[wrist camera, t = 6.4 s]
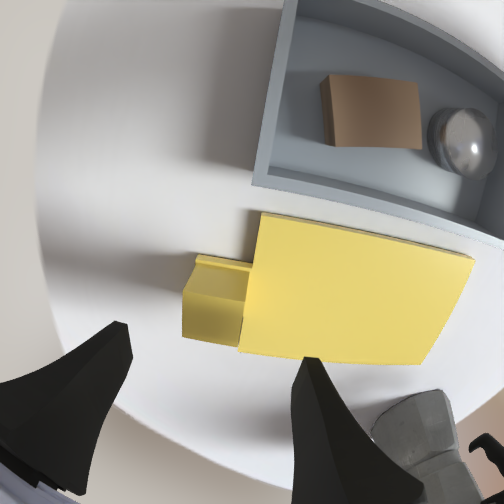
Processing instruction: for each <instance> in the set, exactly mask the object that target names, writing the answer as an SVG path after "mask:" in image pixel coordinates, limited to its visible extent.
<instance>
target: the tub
mask: <svg viewBox="0 0 504 504" xmlns="http://www.w3.org/2000/svg"><path fill="white" fill-rule="evenodd" d="M328 75H353V76H367V77H378V78H387V79H395V80H403V81H409V82H416V83H418V92H419V102H420V114H421V131H422V150H421V149H406V148H384V147H333V146H329V145H325V137H324V124H323V113H322V102H321V93H320V83H321V82H322V81H323V80H324V79H325V78H326V77H327V76H328ZM443 108H475V109H478V110H480V111H481V112H483V113H484V114H485V115H486V116H487V118H488V119H489V120H490V122H491V124H492V125H493V128H494V130H495V133H496V137H497V144H498V152H497V159H496V162H495V165H494V167H493V169H492V171H491V172H490V174H489V175H488V176H487V177H485V178H484V179H481V180H471V179H468V178H466V177H463V176H460V175H457V174H454V173H451V172H448V171H445V170H444V169H442V168H441V167H439V166H438V165H437V163H436V162H435V161H434V159H433V158H432V156H431V154H430V151H429V148H428V143H427V128H428V124H429V121H430V119H431V117H432V116H433V115H434V114H435V112H437V111H438V110H440V109H443ZM251 185H252V186H258V187H264V188H269V189H275V190H280V191H286V192H291V193H296V194H301V195H306V196H311V197H316V198H320V199H325V200H330V201H334V202H339V203H343V204H347V205H352V206H356V207H360V208H364V209H368V210H372V211H376V212H380V213H384V214H388V215H392V216H396V217H399V218H403V219H407V220H410V221H414V222H418V223H421V224H425V225H428V226H431V227H435V228H438V229H441V230H445V231H448V232H451V233H454V234H457V235H460V236H464V237H467V238H470V239H473V240H476V241H479V242H482V243H484V244H487V245H490V246H493V247H496V248H498V249H501V250H504V72H502V71H501V70H500V69H499V68H497V67H496V66H495V65H494V64H492V63H491V62H490V61H488V60H487V59H486V58H484V57H483V56H481V55H480V54H479V53H477V52H476V51H474V50H473V49H471V48H470V47H468V46H467V45H465V44H464V43H462V42H461V41H459V40H458V39H456V38H454V37H453V36H451V35H449V34H448V33H446V32H444V31H443V30H441V29H439V28H437V27H435V26H433V25H432V24H430V23H428V22H426V21H424V20H422V19H420V18H418V17H416V16H414V15H412V14H409V13H407V12H405V11H403V10H401V9H398V8H396V7H394V6H391V5H389V4H386V3H384V2H381V1H378V0H284V5H283V10H282V15H281V21H280V26H279V31H278V37H277V42H276V47H275V53H274V58H273V64H272V69H271V75H270V80H269V86H268V92H267V97H266V103H265V108H264V114H263V120H262V126H261V131H260V137H259V143H258V149H257V155H256V161H255V166H254V172H253V178H252V184H251Z"/></svg>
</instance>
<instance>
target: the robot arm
mask: <svg viewBox="0 0 504 504" xmlns="http://www.w3.org/2000/svg"><path fill="white" fill-rule="evenodd" d="M132 360H133V354H132V349H131V343H130V338H129V331H128V325H127V324H125V323H121V322H118V321H114V322H112V323H111V324H109V325H108V326H106V327H105V328H104V329H102V330H101V331H99V332H98V333H97V334H95V335H94V336H93V337H91V338H90V339H88V340H87V341H85V342H84V343H83V344H81V345H80V346H78V347H77V348H75V349H74V350H72V351H71V352H69V353H67V354H66V355H64V356H63V357H61V358H60V359H58V360H56V361H54V362H53V363H51V364H49V365H47V366H45V367H43V368H41V369H39V370H37V371H34V372H32V373H29V374H27V375H24V376H22V377H19V378H16V379H13V380H10V381H6V382H3V383H0V504H79V503H78V502H76V501H74V500H72V499H70V498H68V497H66V496H64V495H63V494H61V493H59V492H57V488H59V489H60V490H62V491H64V492H65V491H66V490H68V491H70V492H72V493H74V494H76V495H78V496H81V495H84V494H86V488H87V481H88V475H89V470H90V466H91V461H92V457H93V453H94V449H95V446H96V443H97V439H98V436H99V433H100V430H101V427H102V425H103V422H104V420H105V418H106V415H107V413H108V411H109V409H110V407H111V406H112V404H113V402H114V400H115V398H116V396H117V394H118V392H119V390H120V388H121V386H122V384H123V382H124V380H125V378H126V376H127V373H128V371H129V368H130V365H131V362H132ZM291 419H292V432H293V444H294V479H293V491H292V502H291V504H427V503H428V499H427V494H426V490H425V486H424V483H423V482H421V481H420V480H418V479H417V478H415V477H414V476H412V475H411V474H409V473H408V472H406V471H405V470H403V469H402V468H401V467H400V466H399V465H397V464H396V463H395V462H394V461H392V460H391V459H390V458H389V457H388V456H387V455H386V454H385V453H384V452H383V451H382V450H381V449H380V448H379V447H378V446H377V445H376V444H375V443H374V442H373V441H372V440H371V439H370V437H369V436H368V435H367V434H366V433H365V432H364V430H363V429H362V428H361V427H360V425H359V424H358V423H357V421H356V420H355V418H354V417H353V416H352V414H351V413H350V411H349V410H348V408H347V407H346V405H345V403H344V402H343V400H342V399H341V397H340V395H339V394H338V392H337V390H336V388H335V387H334V385H333V383H332V381H331V379H330V378H329V376H328V374H327V372H326V370H325V368H324V366H323V364H322V362H321V360H320V359H319V358H315V357H305V356H304V358H303V361H302V363H301V366H300V368H299V371H298V373H297V376H296V378H295V381H294V383H293V386H292V392H291Z"/></svg>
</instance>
